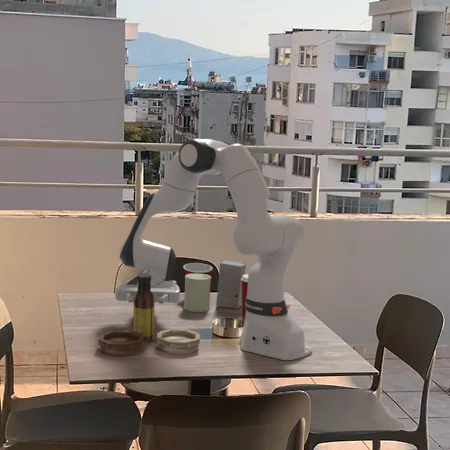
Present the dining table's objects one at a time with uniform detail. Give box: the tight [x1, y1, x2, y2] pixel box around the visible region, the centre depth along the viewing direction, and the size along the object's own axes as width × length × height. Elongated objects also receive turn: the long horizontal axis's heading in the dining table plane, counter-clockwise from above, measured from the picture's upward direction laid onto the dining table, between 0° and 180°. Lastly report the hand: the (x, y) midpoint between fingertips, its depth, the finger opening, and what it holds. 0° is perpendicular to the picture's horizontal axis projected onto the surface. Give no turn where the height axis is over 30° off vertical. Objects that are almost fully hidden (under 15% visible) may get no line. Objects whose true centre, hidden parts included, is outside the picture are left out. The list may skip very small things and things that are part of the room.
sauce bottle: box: [132, 273, 155, 342], centre depth 217 cm, size 6×6×20 cm
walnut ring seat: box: [98, 330, 145, 357], centre depth 208 cm, size 12×12×4 cm
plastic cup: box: [183, 262, 213, 276], centre depth 268 cm, size 11×11×12 cm
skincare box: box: [215, 260, 247, 310], centre depth 259 cm, size 8×7×16 cm
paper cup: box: [241, 273, 249, 318], centre depth 248 cm, size 8×8×14 cm
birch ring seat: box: [156, 328, 201, 355], centre depth 213 cm, size 12×12×4 cm
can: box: [183, 274, 212, 313], centre depth 254 cm, size 9×9×12 cm
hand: (145, 300), depth 221 cm, fingers open, 8 cm apart
